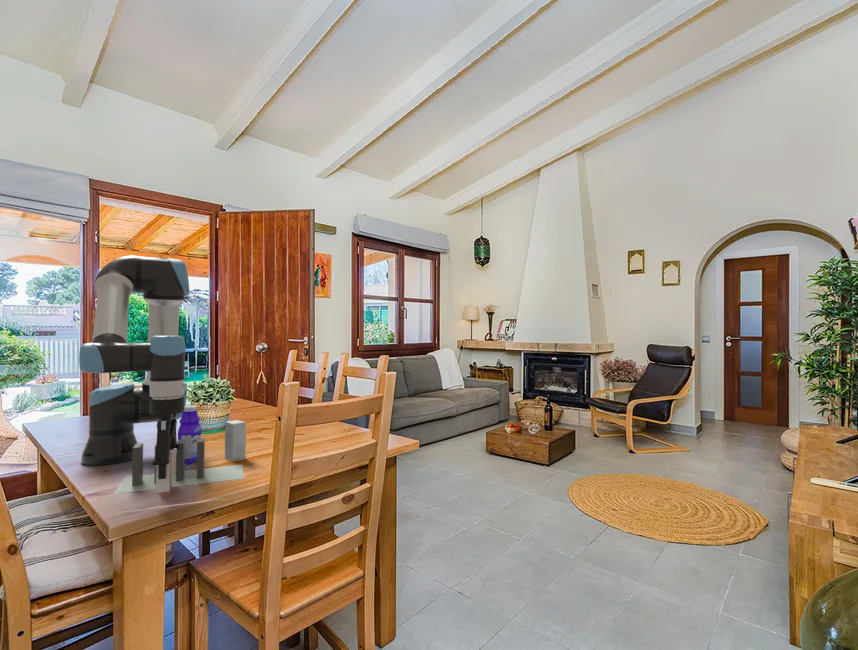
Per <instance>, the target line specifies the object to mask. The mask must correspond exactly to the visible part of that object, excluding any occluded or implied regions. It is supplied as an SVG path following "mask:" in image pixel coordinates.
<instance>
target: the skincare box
mask: <svg viewBox="0 0 858 650" xmlns="http://www.w3.org/2000/svg"><path fill="white" fill-rule="evenodd" d="M224 423H225V425H224V459H225V460H228V461H231V462H238V461H243V460H246V459H247V458H246V457H247V456H246V454H247V453H246V452H247V449H246V448H247V447H246V444H247V435H246V434H247V427H246V426H247V422H246V421H242V420H240V419H239V420H238V419H237V420H235V419H234V420H227V421H225V422H224Z"/></svg>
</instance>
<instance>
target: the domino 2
mask: <svg viewBox="0 0 858 650" xmlns="http://www.w3.org/2000/svg"><path fill="white" fill-rule="evenodd" d="M155 456H156V444H155V445H154V457H155ZM160 459H162V458H160ZM154 474H155V475H154V484H156V465H155V466H154Z"/></svg>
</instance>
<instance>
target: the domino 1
mask: <svg viewBox="0 0 858 650" xmlns="http://www.w3.org/2000/svg"><path fill="white" fill-rule="evenodd" d="M131 465H132V466H131V467H132V468H131V470H132V471H131V476H132V486H139V485H140V484H141V482H142V480H143V475H144V442H138V443H136V444H135V446H134V447H133V453H132V464H131Z"/></svg>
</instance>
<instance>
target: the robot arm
mask: <svg viewBox="0 0 858 650" xmlns="http://www.w3.org/2000/svg"><path fill="white" fill-rule="evenodd" d="M94 290H95V292H96V293H97V297H96V306H95V315H94V322H93V330H92V337H91V338H92V339H91V342H88V343H87V342H86V343H82V344H81V346H79V352H78V354H79V355H78V356H79V358H78V359H79V360H78V361H79V362H78V363H79V370H80V371H81V372H82V373H84V374H110V373H133V372H134V373H135V372H147V377H145V379H144V380H142V382H141V386H139V387H136V386H135V384H134V383H133V382H128V383H127V382H126V383H118V384H112V385H107V386H103V387H102V386H101V387H99V388H96V389H94V390H92V391H91V392H90V395H89V403H88V407H89V415H88V417H89V422H88V438H87V441H86V444H85V446H84V449H83V451H82V453H81V464H83V465H86V466H105V465H106V466H107V465H115V464H119V463H125V462H127V461H128V462H129V461H131V460H132V453H133V447H134V446H135V444H136V443H139V442H138V440H137V438H136V435H135V431H134V430H135V429H134V427H135V426H134V425H135V424H143V423H146V424H147V423H155V422H157V423H156V429H157V430H156V431H157V432H156V444H155V445H156V456H155V455H154V461H151V462H152V464H151V465H152V466H153V467H155V465H156V489H155V494H159V493H160V494H161V492H168V491H169V483H170V463H169V453H171V452H172V456H171V475H176V448H179V444H177V442H178V438H177V424H178V420H180V419H181V417H182V412H183V411H184V406H187V399H188V398H187V397H188V383H187V382H185V368H186V367H185V364H186V351H187V350H186V341H185V340H186V339H185V337H184V336H183V335H179V325H180V324H179V321H180V320H179V319H180V317H179V316H180V312H179V311H180V305H181V304H182V303H183V302H184V301H185V296H189V295H190V282H189V274H188V268H187V265H186V262H184V261H183V260H181V259H176V258H170V257H167V258H165V257H152V256H140V255H126V256H125V255H124V256H121V257H118V258H115V259H113V260H112V261H110V262H108V263H107V264H105V265H104V266H103V267H102V268H101V269H100V271H99V272H98V273H97V274H96V278H95V280H94ZM133 293H134V294H135V293H136V294H142V295H143V296H142V298H143V300H144V301H145V302H146V303H147V304H148V326H147V327H148V329H147V330H148V336H147V338H148V339H147V342H128V329H129V328H128V325H129V304H130V297H131V295H132V294H133ZM160 458H162V459H160Z"/></svg>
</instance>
